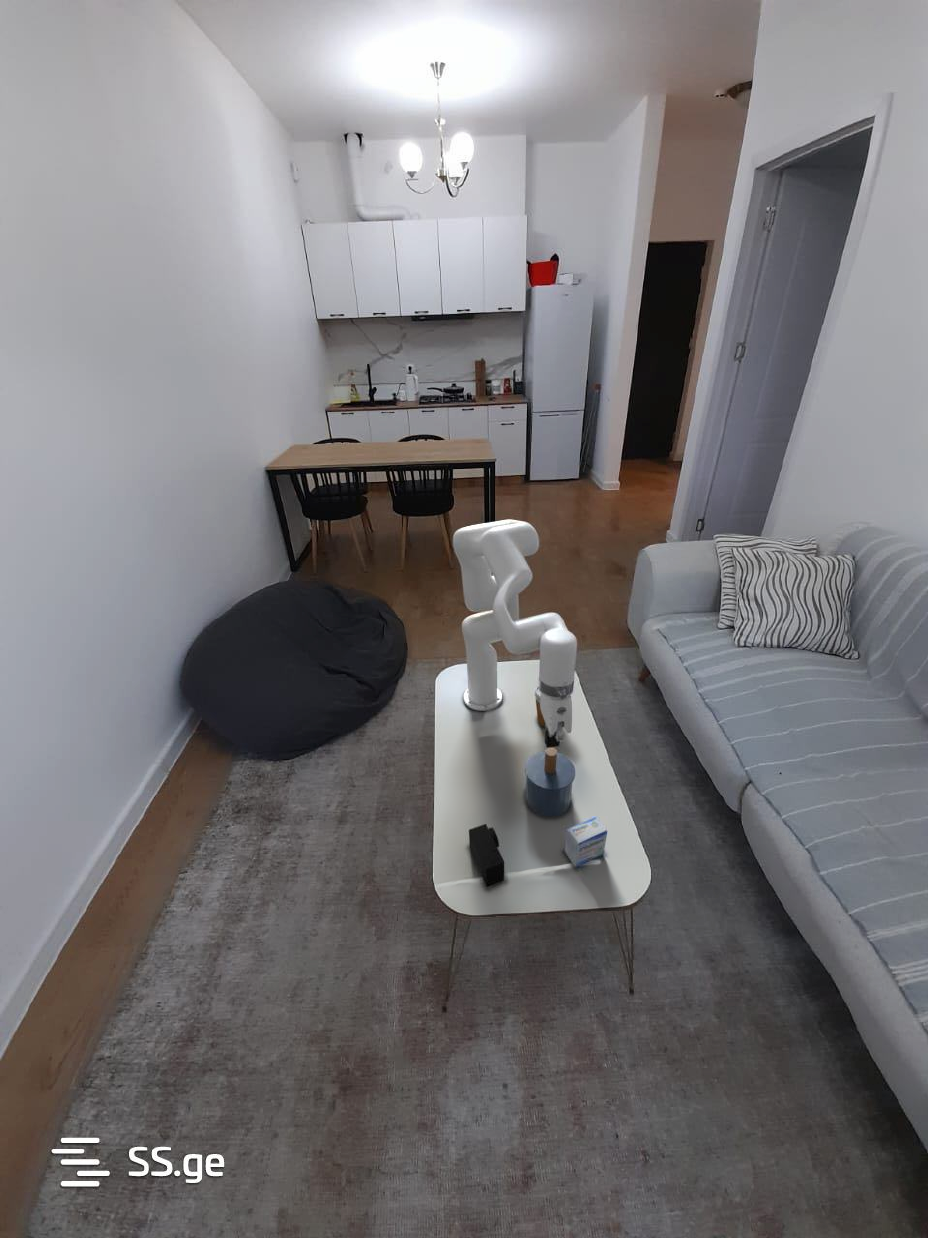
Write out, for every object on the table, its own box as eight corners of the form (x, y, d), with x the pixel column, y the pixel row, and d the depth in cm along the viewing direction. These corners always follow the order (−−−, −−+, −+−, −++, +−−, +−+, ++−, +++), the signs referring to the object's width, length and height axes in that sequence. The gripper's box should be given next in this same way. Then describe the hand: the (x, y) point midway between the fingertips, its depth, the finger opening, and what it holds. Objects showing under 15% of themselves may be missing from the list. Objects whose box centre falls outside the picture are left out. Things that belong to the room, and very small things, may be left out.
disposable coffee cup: (563, 733, 147) (566, 702, 141) (531, 730, 149) (532, 699, 143) (564, 712, 155) (567, 681, 149) (533, 709, 157) (535, 679, 151)
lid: (519, 757, 127) (520, 736, 123) (566, 751, 128) (568, 730, 124) (531, 795, 117) (532, 774, 113) (581, 788, 118) (584, 767, 114)
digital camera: (509, 879, 110) (509, 860, 106) (486, 888, 108) (486, 869, 104) (491, 840, 118) (490, 821, 114) (469, 848, 116) (468, 829, 113)
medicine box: (575, 868, 111) (578, 844, 107) (564, 852, 115) (566, 828, 110) (604, 854, 114) (608, 831, 109) (592, 839, 117) (596, 815, 113)
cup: (521, 784, 132) (522, 756, 126) (562, 779, 133) (565, 751, 127) (531, 820, 122) (533, 792, 117) (576, 814, 123) (579, 785, 118)
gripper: (584, 703, 102) (578, 766, 111) (562, 661, 115) (558, 721, 124) (548, 707, 101) (545, 771, 110) (530, 665, 114) (529, 725, 123)
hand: (552, 744), depth 117 cm, fingers closed
